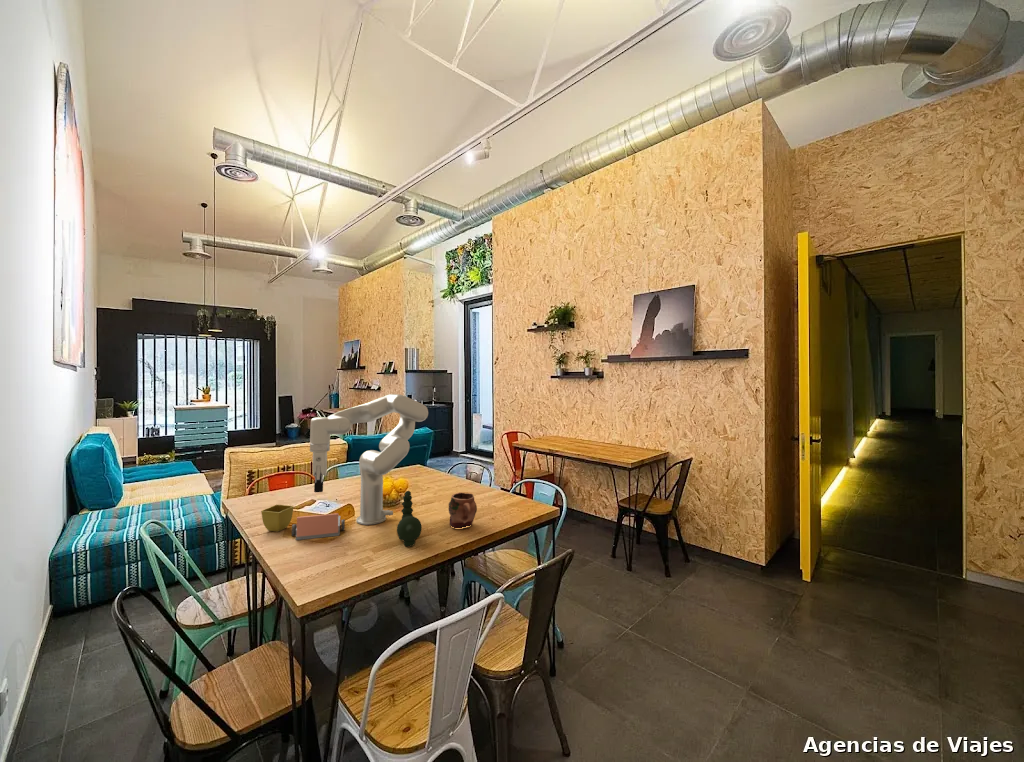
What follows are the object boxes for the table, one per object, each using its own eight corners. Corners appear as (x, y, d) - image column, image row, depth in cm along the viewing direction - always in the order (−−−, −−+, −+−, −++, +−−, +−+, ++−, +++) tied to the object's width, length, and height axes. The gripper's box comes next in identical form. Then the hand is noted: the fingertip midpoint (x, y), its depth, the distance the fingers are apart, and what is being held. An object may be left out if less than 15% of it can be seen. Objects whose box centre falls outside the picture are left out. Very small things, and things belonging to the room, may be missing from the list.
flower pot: (278, 534, 173) (279, 512, 173) (260, 532, 174) (260, 510, 174) (293, 526, 181) (294, 505, 181) (276, 525, 183) (276, 504, 183)
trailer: (295, 526, 181) (295, 516, 181) (344, 522, 188) (345, 512, 188) (290, 540, 166) (290, 529, 166) (344, 535, 173) (344, 524, 173)
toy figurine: (395, 534, 179) (397, 553, 155) (396, 489, 181) (397, 500, 157) (418, 532, 182) (423, 550, 158) (418, 488, 183) (423, 499, 159)
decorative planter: (484, 532, 179) (485, 500, 179) (457, 537, 173) (458, 503, 173) (466, 518, 196) (466, 488, 196) (441, 522, 190) (441, 491, 190)
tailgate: (296, 537, 166) (296, 517, 166) (338, 533, 172) (339, 513, 172) (295, 538, 166) (296, 517, 165) (338, 534, 171) (339, 514, 171)
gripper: (328, 450, 169) (327, 495, 169) (330, 444, 183) (329, 486, 183) (308, 450, 166) (306, 497, 166) (311, 444, 180) (310, 487, 180)
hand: (318, 491), depth 174 cm, fingers closed
